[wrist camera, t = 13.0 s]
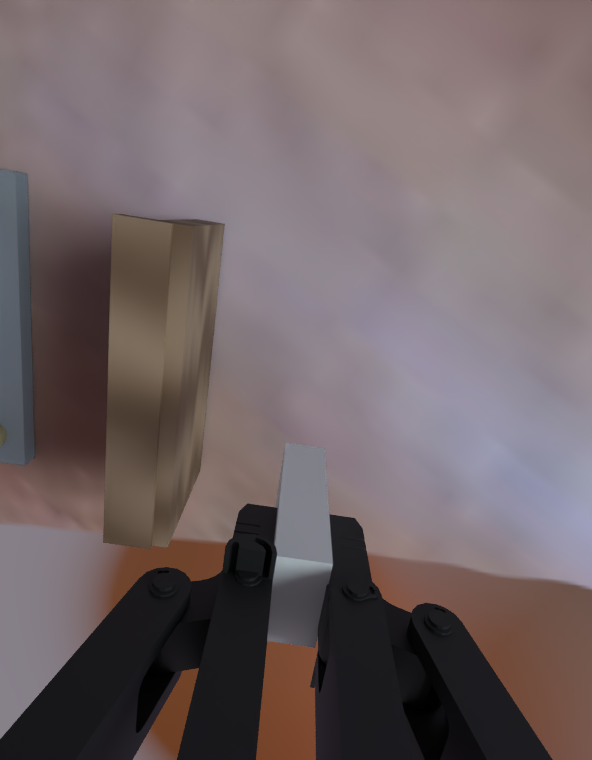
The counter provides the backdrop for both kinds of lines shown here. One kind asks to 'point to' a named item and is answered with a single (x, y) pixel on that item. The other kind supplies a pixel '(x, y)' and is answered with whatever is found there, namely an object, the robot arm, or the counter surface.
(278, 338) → the counter surface
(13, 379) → the base
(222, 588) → the robot arm
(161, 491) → the panel
